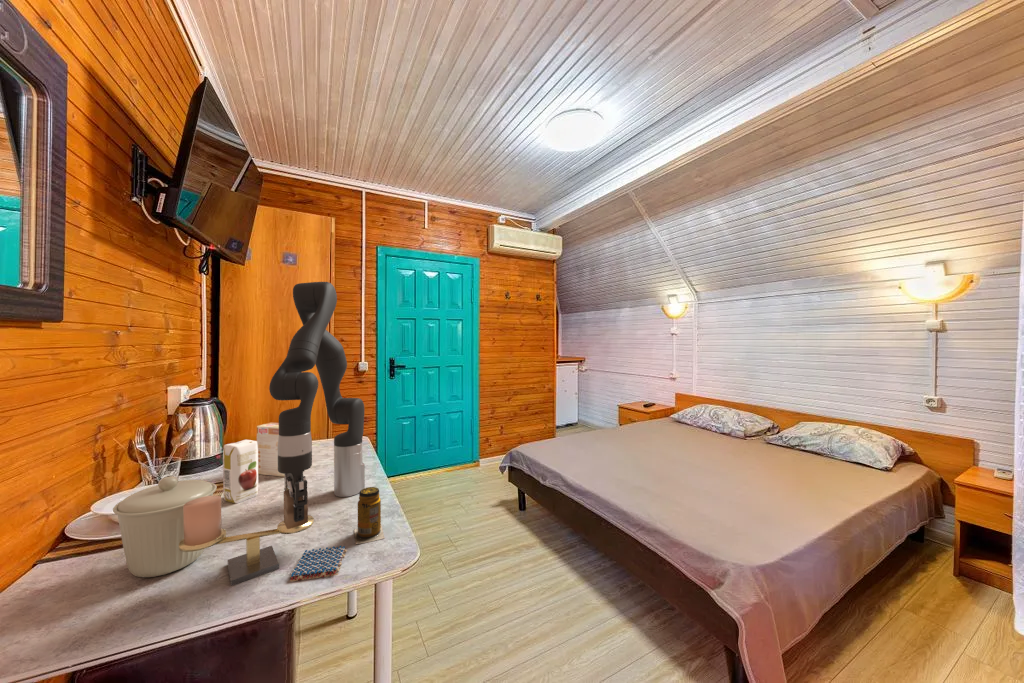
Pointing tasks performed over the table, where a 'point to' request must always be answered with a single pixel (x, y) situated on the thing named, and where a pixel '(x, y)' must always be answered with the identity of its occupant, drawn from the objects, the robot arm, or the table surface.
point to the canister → (158, 526)
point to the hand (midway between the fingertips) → (295, 514)
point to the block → (290, 511)
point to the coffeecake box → (268, 449)
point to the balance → (250, 552)
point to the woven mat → (318, 563)
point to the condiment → (369, 516)
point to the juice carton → (240, 471)
